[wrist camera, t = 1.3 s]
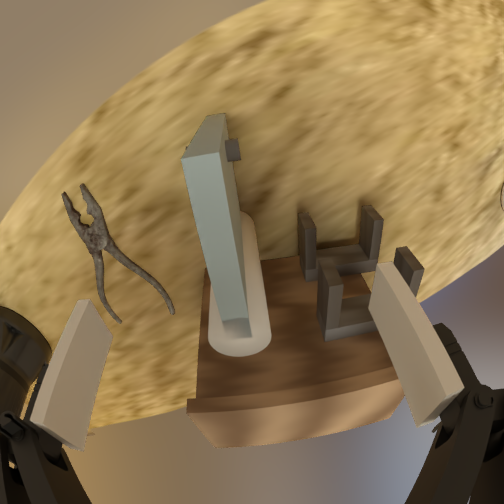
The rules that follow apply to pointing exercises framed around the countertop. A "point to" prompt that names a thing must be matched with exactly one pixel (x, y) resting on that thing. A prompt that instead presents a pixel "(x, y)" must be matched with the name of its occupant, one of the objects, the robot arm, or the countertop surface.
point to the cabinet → (305, 349)
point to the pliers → (104, 247)
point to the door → (226, 243)
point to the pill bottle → (502, 198)
